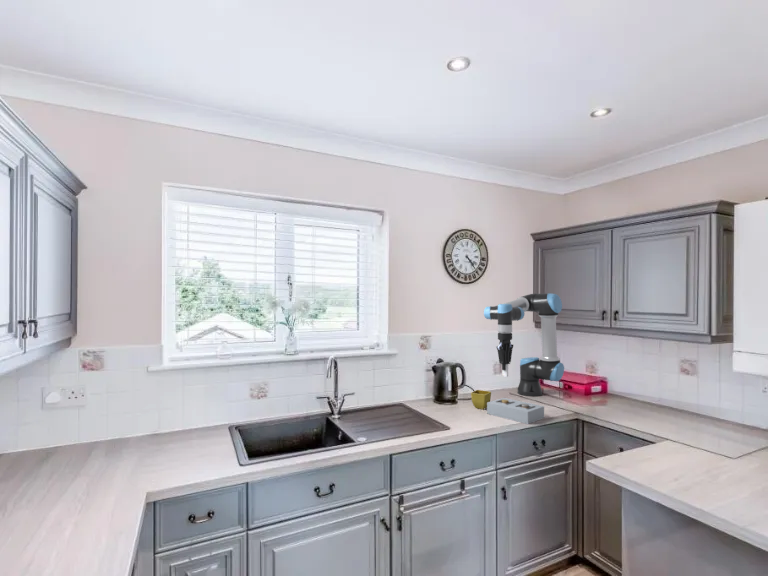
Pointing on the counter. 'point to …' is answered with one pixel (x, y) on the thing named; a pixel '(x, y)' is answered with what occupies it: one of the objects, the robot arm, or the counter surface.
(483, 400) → the flower pot
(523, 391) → the robot arm
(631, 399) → the counter surface
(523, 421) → the socket block
